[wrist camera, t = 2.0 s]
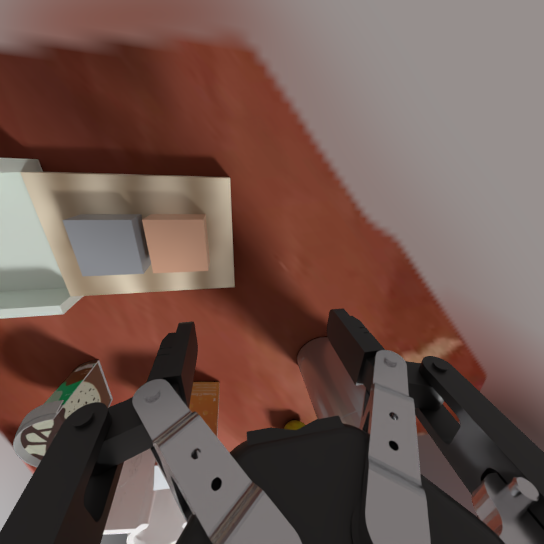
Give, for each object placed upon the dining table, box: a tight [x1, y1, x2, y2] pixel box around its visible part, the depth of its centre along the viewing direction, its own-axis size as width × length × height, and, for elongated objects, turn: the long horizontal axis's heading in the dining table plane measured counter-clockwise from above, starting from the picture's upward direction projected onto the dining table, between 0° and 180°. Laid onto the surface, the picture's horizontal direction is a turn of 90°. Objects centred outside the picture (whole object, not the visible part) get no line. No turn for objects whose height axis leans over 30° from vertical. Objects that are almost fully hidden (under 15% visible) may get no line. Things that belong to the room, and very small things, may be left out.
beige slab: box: [20, 172, 235, 296], centre depth 28 cm, size 20×14×3 cm
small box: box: [153, 382, 220, 490], centre depth 37 cm, size 8×6×13 cm
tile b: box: [62, 214, 151, 276], centre depth 24 cm, size 6×6×3 cm
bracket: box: [103, 449, 187, 544], centre depth 42 cm, size 25×10×12 cm, turn 63°
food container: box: [13, 360, 113, 467], centre depth 32 cm, size 12×6×10 cm, turn 177°
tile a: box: [142, 214, 210, 273], centre depth 26 cm, size 6×6×3 cm
